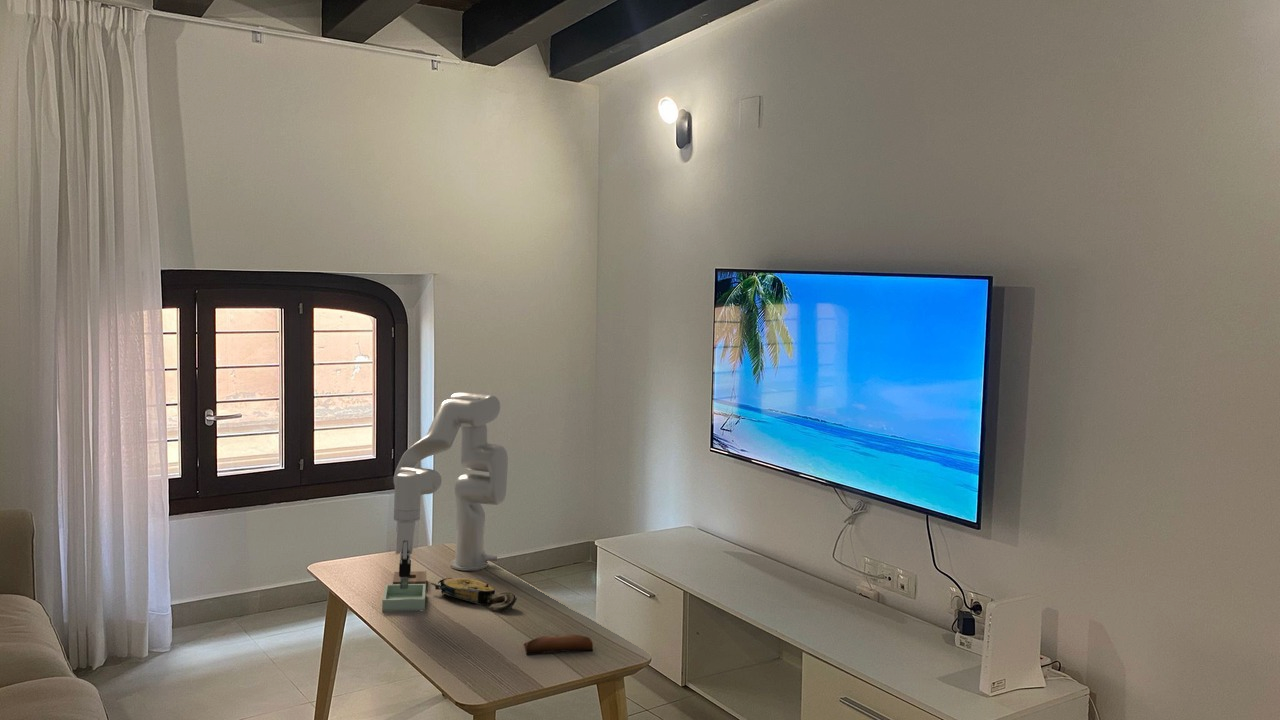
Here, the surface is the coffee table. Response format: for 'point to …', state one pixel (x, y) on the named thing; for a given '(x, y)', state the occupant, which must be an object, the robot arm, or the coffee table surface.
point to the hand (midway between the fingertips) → (404, 574)
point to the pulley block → (476, 593)
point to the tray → (404, 598)
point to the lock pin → (404, 582)
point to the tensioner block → (412, 577)
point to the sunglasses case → (558, 644)
